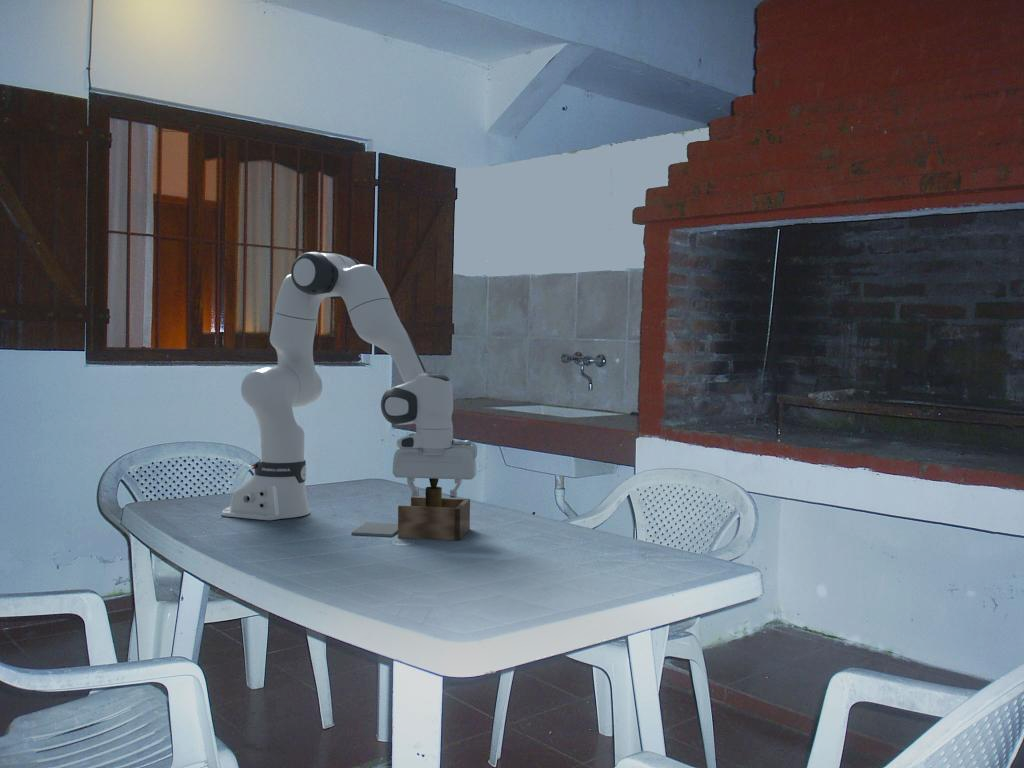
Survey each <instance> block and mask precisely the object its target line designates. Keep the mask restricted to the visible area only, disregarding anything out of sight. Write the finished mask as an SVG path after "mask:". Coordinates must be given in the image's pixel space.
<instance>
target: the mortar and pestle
mask: <svg viewBox="0 0 1024 768" xmlns="http://www.w3.org/2000/svg"><path fill="white" fill-rule="evenodd" d="M428 479H429V484H430V486H426V487H425V497H426V500H425V507H441V499H442V498H443V497H442V492H443V491H442V489H443V488H442V487H440V486H438V483H439V479H433V478H428Z"/></svg>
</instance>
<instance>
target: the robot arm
mask: <svg viewBox="0 0 1024 768" xmlns="http://www.w3.org/2000/svg"><path fill="white" fill-rule="evenodd" d="M387 289H388V288H387V287H386V285H385V283H384V281H383V279H382V277H381V275H380V274H379V273H378V271H377V269H376V268H375V267H374V266H372V265H370V264H365V263H364V264H363V263H361V262H360V261H358V260H357V259H355V258H354V257H352V256H349V255H343V254H338V253H333V252H327V253H326V252H318V251H308V252H304V253H302V254H300V255H298V256H297V257H296V258H295V260H294V261H293V262H292V265H291V270H290V274H288V275H287V276H286V277H284V278H283V281H282V283H281V286H280V289H279V291H278V295H277V297H276V300H275V301H276V302H275V306H274V307H275V308H274V312H273V318H272V323H271V329H270V333H269V334H270V335H269V342H270V344H271V346H272V347H273V348H274V349H275V351H276V355H277V366H271V367H270V366H268V367H267V366H265V367H261V368H259V369H255V370H253V371H250V372H248V373H247V374H246V375H245V376H244V377H243V379H242V382H241V386H240V387H241V388H240V390H241V391H240V393H241V395H242V399H243V400H244V402H245V403H246V404H247V406H249V407H250V408H251V410H252V411H253V413H254V414H255V417H256V421H257V423H258V426H259V427H258V428H259V433H260V454H261V455H260V460H259V461H257V462H255V463H253V464H252V465H251V466H252V468H251V469H252V470H254V475H252V476H251V477H250V478H248V479H247V480H245V481H244V482H243V483H242V484H240V485H239V486H238V487H237V488H235V489H234V491H233V494H232V496H231V501H230V506H228V507H226V508H224V509H223V510H222V512H221V516H222V515H223V517H231V518H241V519H251V520H260V521H261V520H262V521H275V520H280V519H291V518H293V519H294V518H298V517H303V516H307V515H309V514H310V513H311V510H310V507H309V502H308V498H307V497H308V496H307V491H306V481H307V480H306V478H307V461H306V459H305V432H304V429H303V427H302V426H300V425H299V424H298V423H297V421H296V419H295V416H294V411H293V408H299V407H304V406H307V405H310V404H312V403H313V402H315V401H316V400H318V399H319V398H320V396H321V394H322V391H323V381H322V378H321V376H320V374H319V373H318V372H317V370H316V367H315V362H314V354H313V353H314V352H313V351H314V340H315V335H316V330H317V329H316V328H317V322H318V317H319V310H320V306H321V304H322V302H323V300H324V299H326V298H330V299H340V298H341V299H342V300H343V302H344V304H345V307H346V309H347V314H348V316H349V318H350V322H351V324H352V326H353V329H354V330H355V332H356V334H357V335H358V336H359V338H361V340H363V341H365V342H367V343H368V344H371V345H373V346H376V347H377V348H379V349H381V350H382V351H384V352H386V353H387V354H388V355H389V356H390V357H391V359H392V360H393V362H394V364H395V365H396V367H397V370H398V371H399V372H398V373H399V375H400V376H401V378H402V381H403V383H402V384H399V385H395V386H393V387H390V388H388V389H387V390H386V391H384V393H383V395H382V398H381V399H380V400H381V401H380V410H381V413H382V416H383V418H384V419H385V420H386V421H387V422H389V423H390V424H393V425H397V426H402V425H403V426H404V425H413V424H414V425H415V427H416V431H415V433H414V432H413V433H410V434H407V435H405V436H403V437H399V439H397V441H396V445H397V447H398V448H396V450H395V452H394V455H393V460H392V474H393V476H394V477H395V478H398V479H400V478H403V479H404V478H405V479H407V480H406V483H407V485H408V486H409V488H410V489H411V497H420V496H419V495H420V488H417V487H416V485H415V483H414V482H415V480H416V479H429V478H433V479H438V480H442V479H443V480H454V484H456V485H455V487H454V488H453V489H450V490H449V494H450V495H449V498H458V490H459V488H460V486H461V485H462V483H463V480H471V481H472V480H473V479H474V478H475V477H476V475H477V462H476V458H477V456H478V447H477V445H476V443H474V442H472V441H471V440H459V439H458V440H457V439H456V440H455V439H454V424H453V421H452V420H453V419H452V416H453V412H454V395H453V393H454V392H453V385H452V382H451V379H450V378H449V377H448V376H446V375H445V374H442V373H438V372H431V371H429V372H428V371H427V370H426V368H425V366H424V364H423V361H422V359H421V358H420V355H419V353H418V350H417V348H416V347H415V344H414V342H413V341H412V338H411V336H410V335H409V333H408V332H407V330H406V328H405V327H404V325H403V324H402V322H401V320H400V318H399V316H398V314H397V312H396V310H395V307H394V304H393V302H392V299H391V296H390V294H389V292H388V290H387Z"/></svg>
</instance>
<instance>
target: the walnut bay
mask: <svg viewBox="0 0 1024 768" xmlns="http://www.w3.org/2000/svg"><path fill="white" fill-rule="evenodd" d="M425 500H426V496H418V497H417V496H411V497H410V505H397V506H398V507H397V524H398V533H397V537H398V538H399V539H417V540H418V539H419V540H438V541H441V540H442V541H461V539H462V538H463V537H464V536H465V535H466V534H467V532H469V531H470V528H471V527H470V526H471V525H470V524H471V522H470V520H471V517H470V516H471V499H470V498H458V497H456V498H450V497H442V499H441V507H425Z"/></svg>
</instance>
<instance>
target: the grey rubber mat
mask: <svg viewBox="0 0 1024 768" xmlns="http://www.w3.org/2000/svg"><path fill="white" fill-rule="evenodd" d="M396 534H398V523H392V522H374V521H373V522H372V521H371V522H370V521H369V522H368V521H367V522H365V523H363V524H362V525H360V526H359V527H357V528H355V529H354V530H353V531H352V532H351V536H365V537H366V536H367V537H368V536H370V537H387V538H392V537H394V536H395V535H396Z"/></svg>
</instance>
